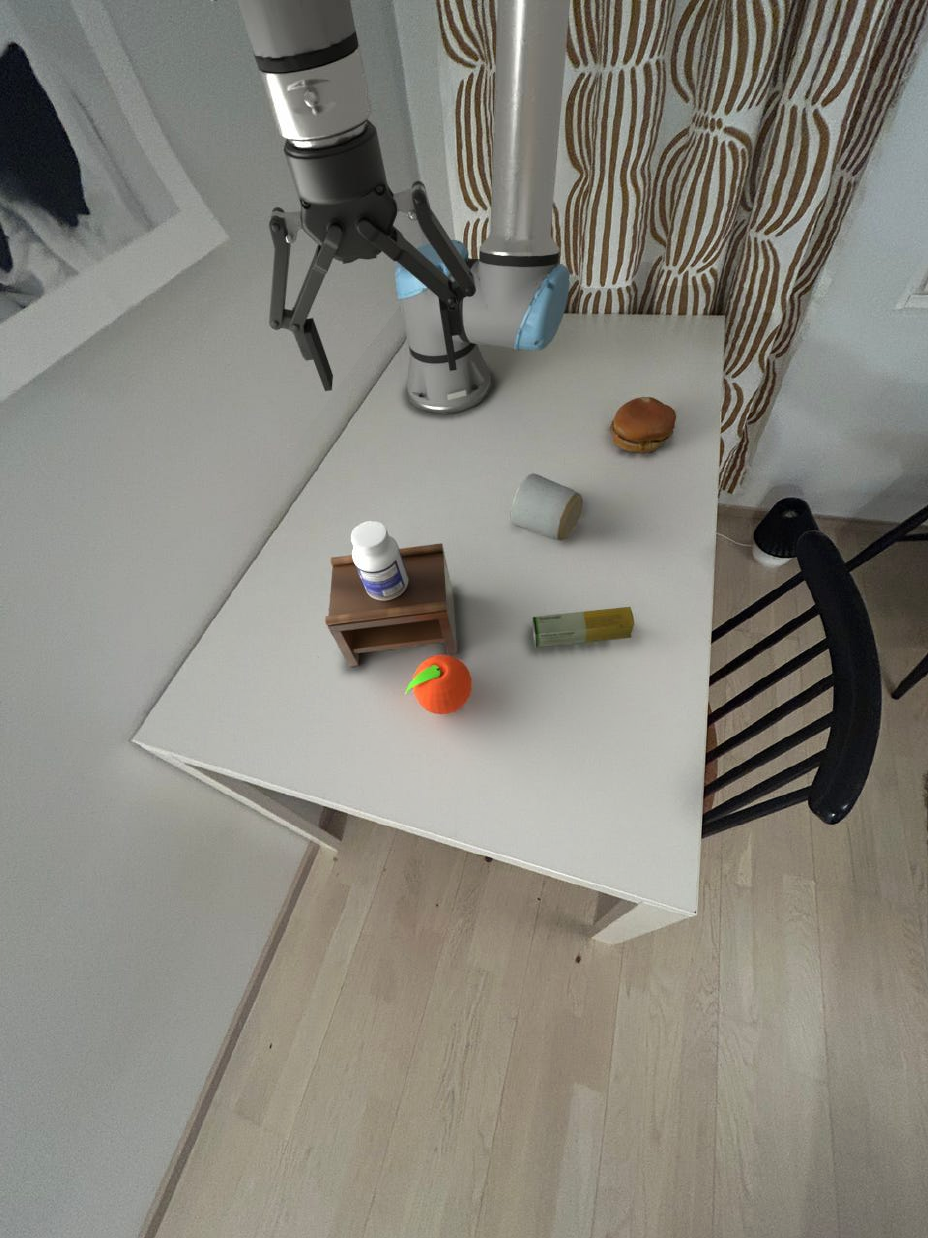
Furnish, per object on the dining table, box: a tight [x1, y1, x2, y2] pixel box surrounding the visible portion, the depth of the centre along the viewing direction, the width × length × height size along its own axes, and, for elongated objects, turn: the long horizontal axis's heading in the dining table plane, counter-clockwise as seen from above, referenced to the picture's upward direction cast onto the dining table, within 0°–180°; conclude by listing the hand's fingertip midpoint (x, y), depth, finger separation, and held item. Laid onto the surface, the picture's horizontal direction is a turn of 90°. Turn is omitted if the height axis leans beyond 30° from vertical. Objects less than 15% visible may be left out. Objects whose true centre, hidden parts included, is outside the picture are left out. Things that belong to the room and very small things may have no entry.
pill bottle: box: [350, 520, 408, 601], centre depth 66 cm, size 5×5×9 cm
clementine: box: [404, 654, 473, 715], centre depth 68 cm, size 8×7×7 cm
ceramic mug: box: [510, 473, 584, 541], centre depth 82 cm, size 11×8×8 cm
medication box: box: [531, 606, 635, 648], centre depth 72 cm, size 12×3×4 cm, turn 92°
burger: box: [610, 396, 677, 454], centre depth 92 cm, size 10×9×5 cm
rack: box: [324, 542, 458, 667], centre depth 73 cm, size 10×14×10 cm
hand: (390, 373), depth 63 cm, fingers open, 13 cm apart
